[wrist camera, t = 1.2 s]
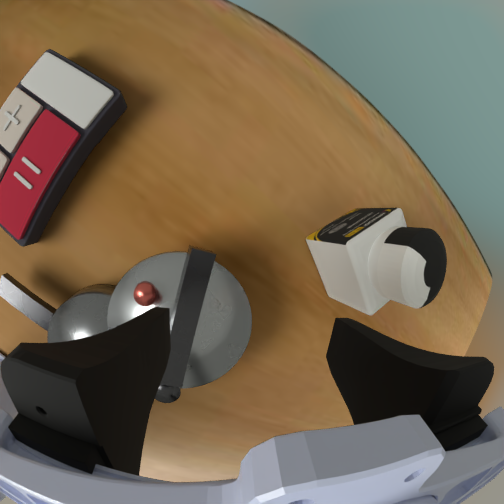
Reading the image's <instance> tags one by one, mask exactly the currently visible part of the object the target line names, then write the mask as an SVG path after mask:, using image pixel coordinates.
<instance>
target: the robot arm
mask: <svg viewBox="0 0 504 504" xmlns="http://www.w3.org/2000/svg"><path fill="white" fill-rule="evenodd" d="M170 350H171V341H170V308H163V307H154V308H152V309H150V310H148V311H146V312H144V313H142V314H140V315H139V316H137V317H135V318H133V319H131V320H129V321H127V322H125V323H123V324H121V325H119V326H117V327H115V328H112V329H110V330H107V331H105V332H102V333H99V334H96V335H93V336H89V337H85V338H80V339H76V340H71V341H64V342H55V343H20V344H19V345H18V346H17V347H16V348H15V349H14V350H13V351H12V352H11V353H10V354H9V355H8V356H7V357H5V356H4V355H3V354H1V353H0V501H2V500H3V499H4V498H5V496H7V497H9V498H10V499H12V500H13V501H15V502H16V503H18V504H460V503H461V502H463V501H464V500H466V499H467V498H469V497H470V496H471V495H473V494H474V493H475V492H477V491H478V490H479V489H481V488H482V487H484V486H485V485H486V484H487V483H489V482H490V481H491V480H493V479H494V478H495V477H496V476H497V475H498V474H499V473H500V472H501V471H502V470H503V469H504V409H502V407H498V408H497V409H495V410H493V411H492V412H490V413H488V414H487V415H486V416H485V417H484V418H483V419H482V418H481V417H480V416H479V415H478V414H480V413H481V408H480V407H479V406H478V404H479V402H480V400H481V399H482V397H483V395H484V394H485V392H486V390H487V388H488V387H489V384H490V382H491V380H492V377H493V374H494V366H493V363H491V362H490V361H489V360H488V359H487V358H485V357H462V356H452V355H445V354H439V353H434V352H430V351H426V350H422V349H418V348H415V347H412V346H409V345H407V344H404V343H401V342H399V341H397V340H394V339H392V338H390V337H388V336H385V335H383V334H381V333H379V332H377V331H375V330H373V329H371V328H369V327H367V326H365V325H363V324H361V323H359V322H357V321H355V320H352V319H349V318H335V323H334V327H333V331H332V335H331V339H330V343H329V347H328V351H327V354H326V358H327V361H328V365H329V368H330V371H331V374H332V376H333V378H334V380H335V382H336V385H337V387H338V389H339V391H340V393H341V395H342V397H343V399H344V401H345V403H346V405H347V407H348V409H349V411H350V414H351V416H352V419H353V423H354V425H351V426H344V427H337V428H329V429H320V430H309V431H299V432H295V433H290V434H285V435H279V436H275V437H273V438H271V439H269V440H267V441H265V442H263V443H261V444H259V445H257V446H255V447H253V448H251V449H250V451H249V452H248V453H247V455H246V456H245V457H244V459H243V460H242V461H241V466H240V473H239V476H238V478H237V479H229V480H219V481H205V482H169V481H163V480H157V479H152V478H147V477H142V476H139V471H140V463H141V456H142V449H143V443H144V438H145V433H146V428H147V423H148V419H149V414H150V410H151V407H152V404H153V401H154V399H155V396H156V393H157V391H158V388H159V386H160V383H161V381H162V378H163V375H164V373H165V370H166V367H167V364H168V359H169V355H170Z"/></svg>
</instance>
